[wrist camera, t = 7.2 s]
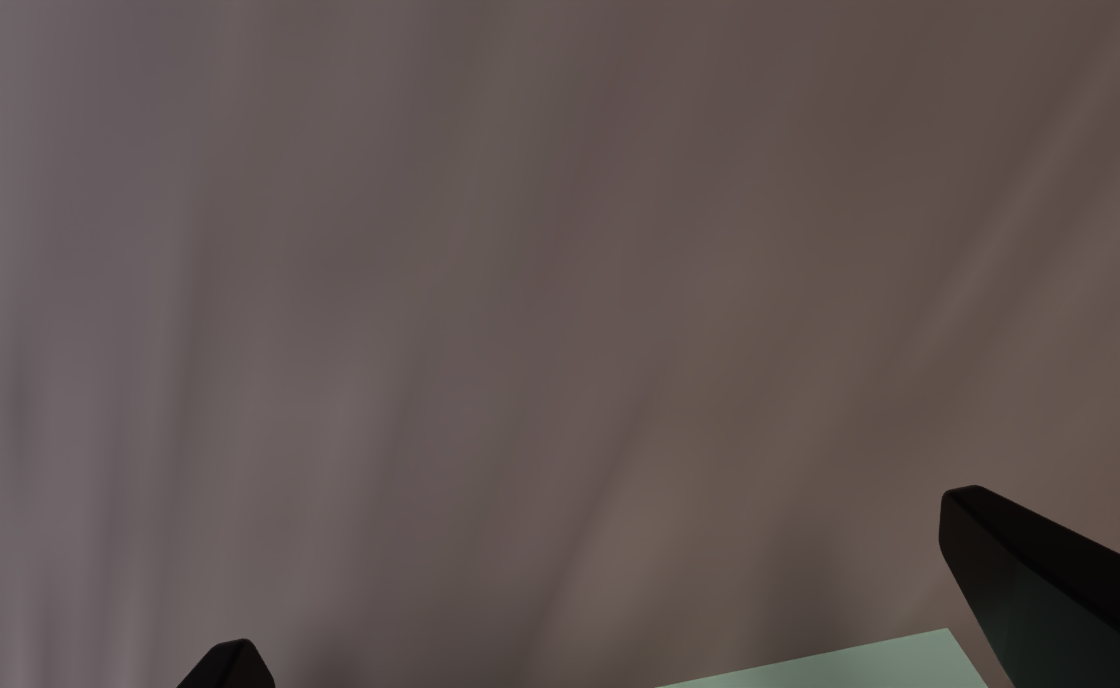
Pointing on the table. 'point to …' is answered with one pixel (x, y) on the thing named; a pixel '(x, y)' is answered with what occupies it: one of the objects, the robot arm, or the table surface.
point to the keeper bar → (863, 667)
